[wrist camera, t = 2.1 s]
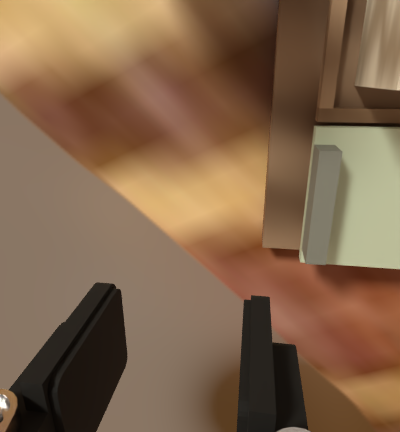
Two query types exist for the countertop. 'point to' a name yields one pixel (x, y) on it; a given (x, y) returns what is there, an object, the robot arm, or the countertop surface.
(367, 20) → the block
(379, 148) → the lid
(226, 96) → the countertop surface
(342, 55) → the board
